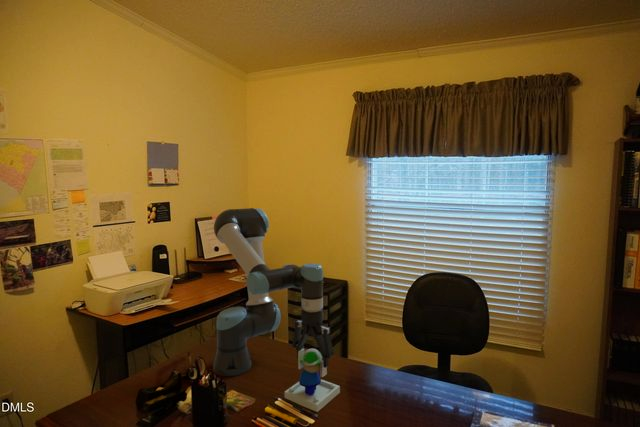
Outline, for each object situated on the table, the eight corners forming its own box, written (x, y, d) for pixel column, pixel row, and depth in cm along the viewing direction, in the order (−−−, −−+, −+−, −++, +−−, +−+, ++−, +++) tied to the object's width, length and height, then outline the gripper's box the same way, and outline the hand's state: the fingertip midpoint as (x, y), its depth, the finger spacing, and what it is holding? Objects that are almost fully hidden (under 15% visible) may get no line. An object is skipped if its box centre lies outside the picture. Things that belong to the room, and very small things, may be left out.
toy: (322, 399, 123) (322, 356, 122) (296, 396, 125) (295, 353, 124) (327, 385, 132) (327, 345, 131) (302, 382, 134) (302, 343, 133)
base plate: (284, 398, 127) (284, 390, 126) (308, 380, 138) (308, 373, 138) (317, 412, 119) (317, 403, 118) (339, 392, 130) (339, 384, 130)
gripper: (281, 305, 129) (281, 367, 131) (332, 318, 117) (332, 385, 119) (294, 300, 136) (294, 359, 137) (344, 311, 123) (344, 375, 125)
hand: (312, 371), depth 128 cm, fingers closed on toy, 9 cm apart
